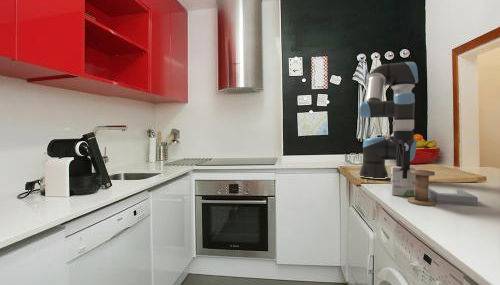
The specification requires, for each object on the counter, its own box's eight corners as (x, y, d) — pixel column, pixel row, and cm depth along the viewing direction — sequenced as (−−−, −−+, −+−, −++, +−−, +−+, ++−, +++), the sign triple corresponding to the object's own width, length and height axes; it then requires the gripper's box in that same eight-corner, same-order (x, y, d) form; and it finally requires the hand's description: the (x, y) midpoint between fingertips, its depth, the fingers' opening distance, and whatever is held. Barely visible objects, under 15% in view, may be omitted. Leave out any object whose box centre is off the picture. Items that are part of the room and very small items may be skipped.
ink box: (391, 195, 117) (392, 167, 117) (390, 192, 122) (390, 165, 122) (414, 196, 115) (415, 168, 114) (412, 193, 120) (412, 166, 119)
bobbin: (405, 198, 111) (405, 169, 111) (430, 200, 109) (431, 170, 108) (411, 204, 103) (412, 172, 102) (439, 206, 100) (440, 173, 100)
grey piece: (425, 194, 119) (425, 187, 118) (460, 196, 115) (461, 189, 115) (436, 202, 105) (437, 195, 105) (477, 205, 101) (478, 197, 101)
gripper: (389, 130, 127) (388, 180, 128) (398, 130, 109) (397, 188, 111) (407, 129, 125) (406, 181, 126) (420, 130, 107) (418, 189, 108)
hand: (402, 184), depth 118 cm, fingers closed on ink box, 5 cm apart
